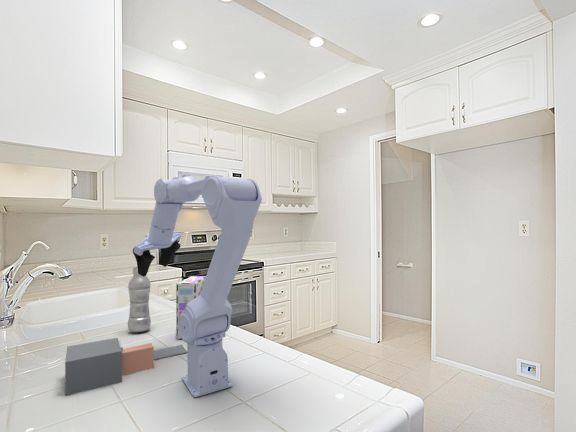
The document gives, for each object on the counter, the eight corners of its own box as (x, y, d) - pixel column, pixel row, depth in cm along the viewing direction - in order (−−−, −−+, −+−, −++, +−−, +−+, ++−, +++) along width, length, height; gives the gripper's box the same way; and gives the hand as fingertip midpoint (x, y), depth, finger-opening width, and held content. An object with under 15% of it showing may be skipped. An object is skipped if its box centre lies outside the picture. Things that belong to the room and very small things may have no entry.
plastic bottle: (135, 328, 107) (135, 266, 107) (155, 328, 106) (154, 266, 106) (123, 334, 101) (122, 269, 101) (143, 335, 100) (143, 269, 100)
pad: (187, 352, 85) (187, 351, 85) (127, 366, 78) (127, 364, 78) (181, 345, 91) (181, 344, 91) (125, 357, 83) (125, 356, 83)
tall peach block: (153, 368, 77) (153, 346, 77) (99, 381, 71) (99, 358, 71) (151, 363, 80) (151, 343, 80) (98, 376, 74) (98, 353, 74)
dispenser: (124, 381, 70) (123, 350, 71) (65, 395, 65) (65, 362, 65) (119, 364, 79) (119, 337, 79) (67, 375, 73) (67, 346, 74)
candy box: (195, 339, 95) (195, 282, 96) (175, 339, 95) (175, 282, 96) (208, 325, 109) (207, 275, 109) (190, 325, 109) (190, 275, 110)
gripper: (170, 213, 91) (160, 255, 96) (128, 223, 78) (119, 271, 82) (191, 223, 90) (179, 266, 94) (151, 236, 76) (140, 285, 81)
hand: (152, 269), depth 88 cm, fingers open, 7 cm apart
